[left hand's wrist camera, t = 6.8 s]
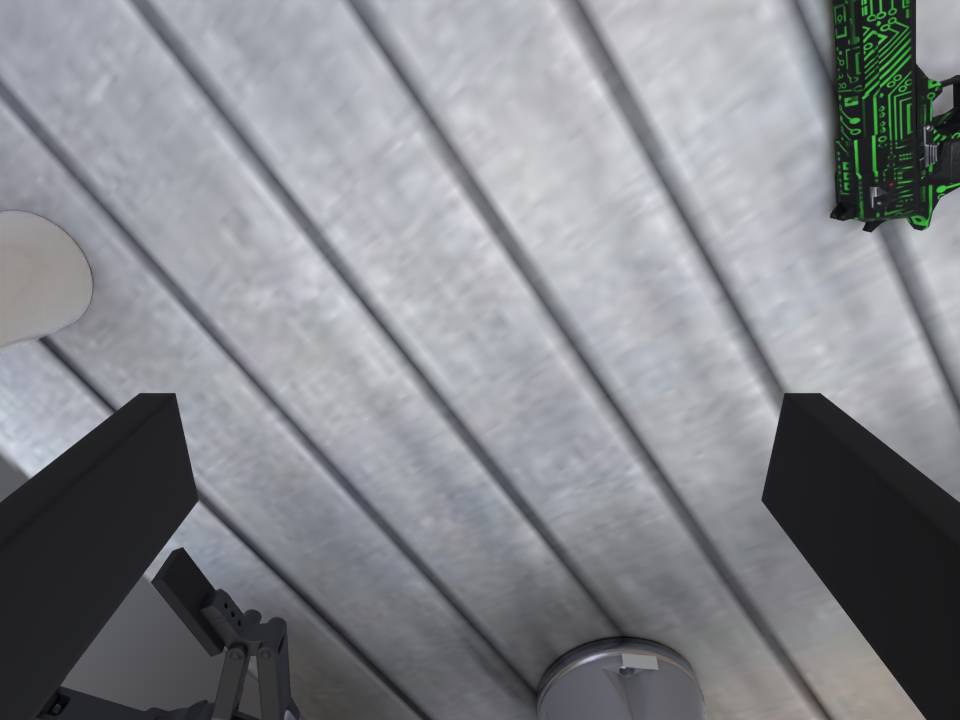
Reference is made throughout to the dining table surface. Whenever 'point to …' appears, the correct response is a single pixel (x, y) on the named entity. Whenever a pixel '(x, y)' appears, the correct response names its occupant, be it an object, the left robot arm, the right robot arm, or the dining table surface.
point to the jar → (38, 280)
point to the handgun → (889, 119)
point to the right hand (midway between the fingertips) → (72, 597)
